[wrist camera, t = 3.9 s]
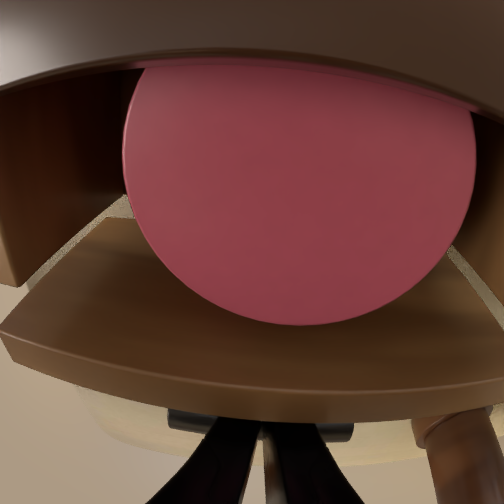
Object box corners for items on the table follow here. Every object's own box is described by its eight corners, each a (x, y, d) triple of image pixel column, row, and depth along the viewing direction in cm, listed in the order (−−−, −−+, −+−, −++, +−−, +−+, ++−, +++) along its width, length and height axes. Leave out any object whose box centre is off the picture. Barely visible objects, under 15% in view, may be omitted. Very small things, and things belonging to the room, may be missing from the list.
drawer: (401, 346, 14) (439, 468, 8) (125, 321, 14) (65, 438, 8) (479, 23, 6) (618, 14, 1) (108, -18, 7) (-31, -64, 1)
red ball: (273, 247, 10) (268, 366, 6) (162, 117, 8) (60, 151, 4) (412, 156, 8) (512, 222, 4) (309, 8, 7) (343, -73, 2)
